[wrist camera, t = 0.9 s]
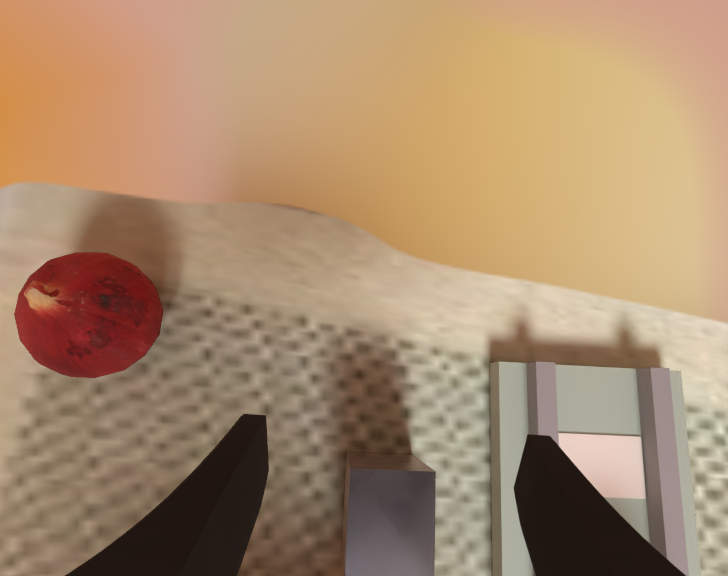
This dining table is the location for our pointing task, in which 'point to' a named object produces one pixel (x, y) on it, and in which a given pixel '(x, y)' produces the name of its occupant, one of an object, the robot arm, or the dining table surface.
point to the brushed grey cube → (388, 515)
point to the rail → (596, 450)
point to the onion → (88, 314)
